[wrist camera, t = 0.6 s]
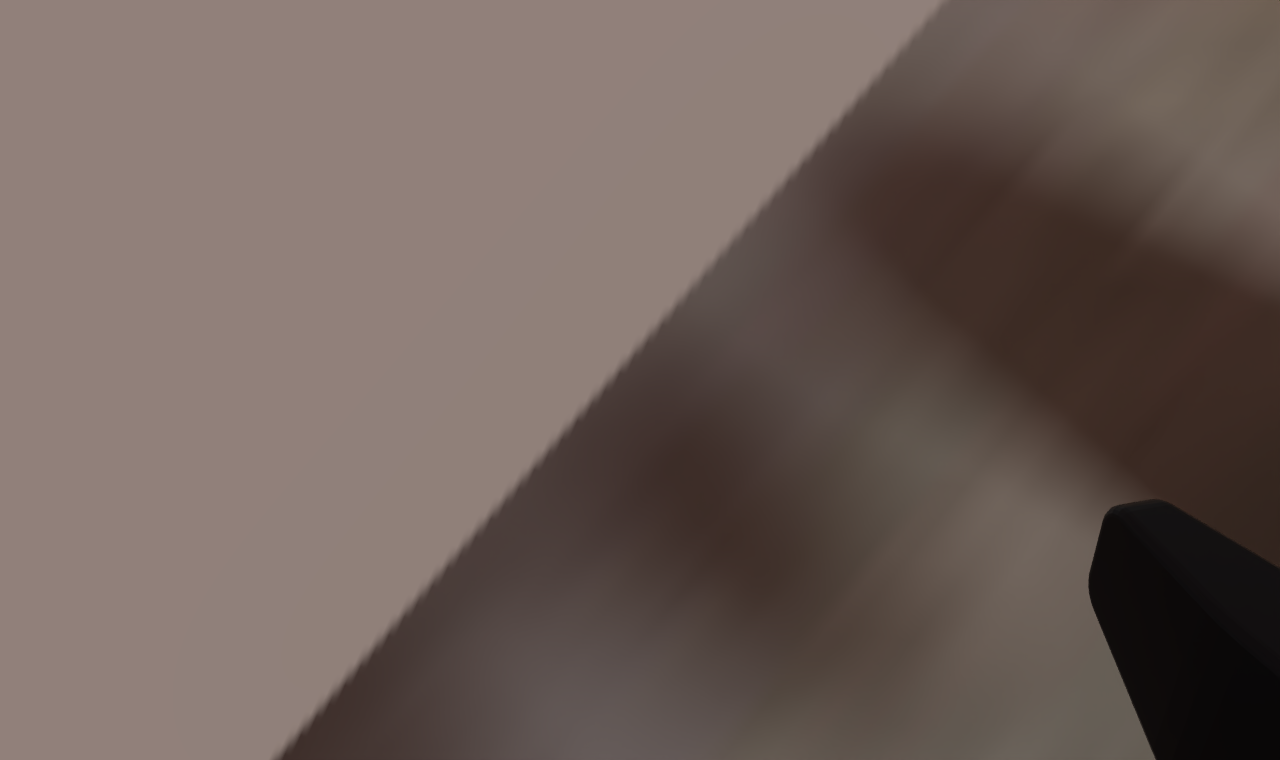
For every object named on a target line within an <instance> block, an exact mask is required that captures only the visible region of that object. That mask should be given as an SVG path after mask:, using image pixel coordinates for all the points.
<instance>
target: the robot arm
mask: <svg viewBox="0 0 1280 760" xmlns="http://www.w3.org/2000/svg"><path fill="white" fill-rule="evenodd" d="M1088 588H1089V595H1090V599H1091V603H1092V606H1093V609H1094V612H1095V614H1096V616H1097V619H1098V621H1099V624H1100V626H1101V629H1102V631H1103V633H1104V636H1105V638H1106V641H1107V643H1108V645H1109V648H1110V650H1111V653H1112V655H1113V658H1114V660H1115V662H1116V665H1117V667H1118V670H1119V672H1120V675H1121V677H1122V679H1123V682H1124V684H1125V687H1126V689H1127V692H1128V694H1129V696H1130V699H1131V701H1132V704H1133V706H1134V708H1135V711H1136V713H1137V716H1138V718H1139V721H1140V723H1141V725H1142V728H1143V730H1144V733H1145V735H1146V738H1147V740H1148V742H1149V745H1150V747H1151V750H1152V752H1153V754H1154V756H1155V759H1156V760H1280V568H1279V567H1277V566H1275V565H1274V564H1272V563H1270V562H1269V561H1267V560H1265V559H1264V558H1262V557H1260V556H1258V555H1257V554H1255V553H1253V552H1252V551H1250V550H1248V549H1247V548H1245V547H1243V546H1242V545H1240V544H1238V543H1237V542H1235V541H1233V540H1231V539H1230V538H1228V537H1226V536H1225V535H1223V534H1221V533H1220V532H1218V531H1216V530H1215V529H1213V528H1211V527H1210V526H1208V525H1206V524H1204V523H1203V522H1201V521H1199V520H1198V519H1196V518H1194V517H1193V516H1191V515H1189V514H1188V513H1186V512H1184V511H1183V510H1181V509H1179V508H1177V507H1176V506H1174V505H1172V504H1170V503H1168V502H1166V501H1163V500H1157V499H1152V500H1145V501H1139V502H1133V503H1128V504H1122V505H1117V506H1114V507H1112V508H1111V509H1110V510H1109V511H1108V512H1107V513H1106V514H1105V516H1104V519H1103V522H1102V526H1101V530H1100V534H1099V538H1098V541H1097V545H1096V549H1095V553H1094V557H1093V561H1092V565H1091V569H1090V573H1089V584H1088Z"/></svg>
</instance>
